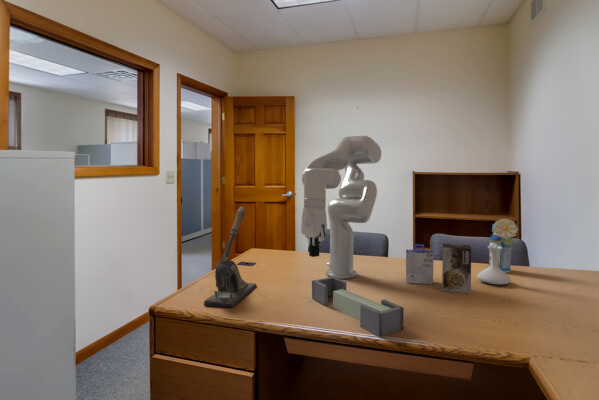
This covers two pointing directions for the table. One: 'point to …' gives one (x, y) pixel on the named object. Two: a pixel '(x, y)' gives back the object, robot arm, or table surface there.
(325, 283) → the cap sliding
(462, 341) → the table surface
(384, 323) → the cap fixed
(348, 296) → the pale green long block
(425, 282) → the ink cartridge box
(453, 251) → the coffee box
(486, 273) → the flower in vase
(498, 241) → the beverage bottle
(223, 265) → the embossing press
